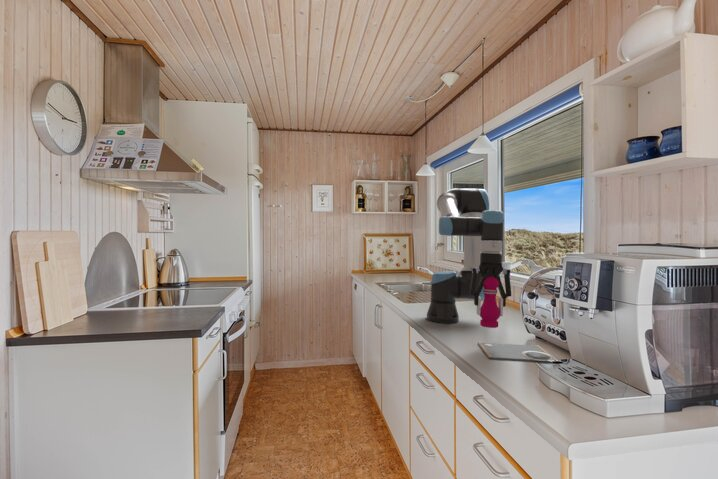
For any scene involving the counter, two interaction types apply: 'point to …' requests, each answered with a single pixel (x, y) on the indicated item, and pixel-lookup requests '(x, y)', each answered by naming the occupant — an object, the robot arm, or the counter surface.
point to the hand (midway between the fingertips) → (489, 314)
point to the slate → (515, 352)
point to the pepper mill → (490, 304)
